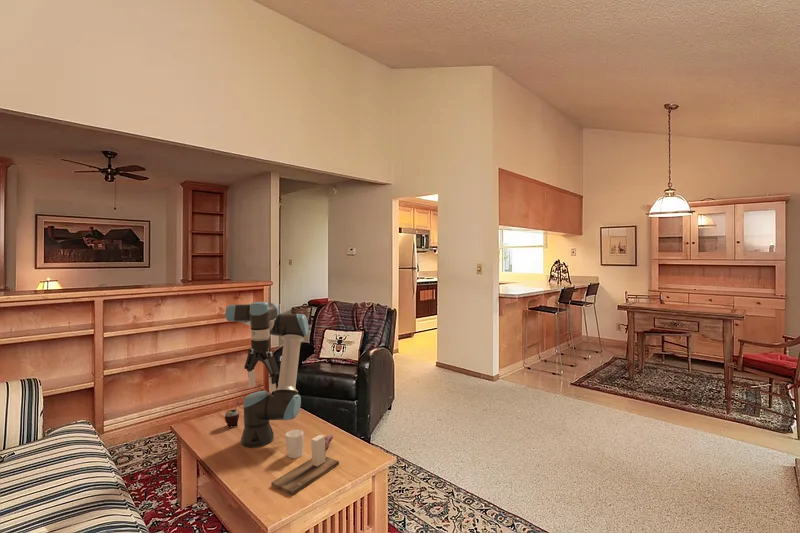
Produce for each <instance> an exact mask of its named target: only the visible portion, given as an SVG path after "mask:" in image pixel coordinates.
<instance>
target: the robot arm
mask: <svg viewBox="0 0 800 533" xmlns="http://www.w3.org/2000/svg"><path fill="white" fill-rule="evenodd" d="M279 308H280V307H279V306H278V305H277V304H276V303H275V302H267V301H255V302H252V303H250V304H228V306H227V307H226V308H225V311H224V316H225V319H226V321H228V322H233V323H236V322H237V323H238V322H239V323H242V324H244V325H248V326H249V327H250V338H251V340H250V348H249V349H247V350H248V352H247V357H246V360H245V364H244V367H243V369H245V370H246V371H247V377H248V387H250V388H251V387H254V386H256V370H255V367H256V366H257V364H258V362H261V363H262V364H264V366H265V368H266V370H267V372H268V374H269V376H268V385H269V386H268V387H269V389H268V390H269V391H267V390H258V391H254V392H252V393H249V394H248V395H246V396H245V397H244V398H243V406H242V407H243V420H244V421H243V423H244V424H243V426H244V427H243V431H242V434H241V438H240V443H241V444H240V445H242V446H243V447H245V448H258V447H263V446H265V445H268V444H270V443H271V442H273V440H274V434H275V433H274V430H273V428H272V426H271V424H270V421H290V420H292V421H293V420H295V419H296V418H297V417H298V415H299V413H300V409H301V406H302V405H301V404H302V398H301V395H300V394H299V390H297V389H296V384H297V376H298V367H299V360H300V350H301V344H302V342H303V341H304V340H305V337H306V336H308V334H309V322H308V318H307V316H306V314H303V313H288V314H287V313H280V309H279ZM271 336H276V337H281V339H282V340H283V346H282V354H281V360H280V361H281V362H280V368H279V367H278V364H277V363H278V362H277V360H276V358H275V352H274V351H269V348H270V346H271V339H270V337H271ZM278 375H279V376H278ZM277 376H278V382H277ZM277 384H278V385H277ZM269 393H273V394H269Z"/></svg>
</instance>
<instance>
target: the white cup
mask: <svg viewBox="0 0 800 533" xmlns="http://www.w3.org/2000/svg"><path fill="white" fill-rule="evenodd" d="M285 444H286V451H287V457H288V458H289V459H297V458H301V457H302V456H303V454H304V430H302V429H292V430H289V431H286V433H285Z"/></svg>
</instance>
